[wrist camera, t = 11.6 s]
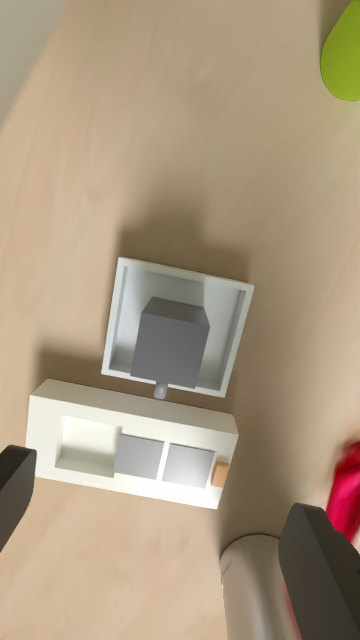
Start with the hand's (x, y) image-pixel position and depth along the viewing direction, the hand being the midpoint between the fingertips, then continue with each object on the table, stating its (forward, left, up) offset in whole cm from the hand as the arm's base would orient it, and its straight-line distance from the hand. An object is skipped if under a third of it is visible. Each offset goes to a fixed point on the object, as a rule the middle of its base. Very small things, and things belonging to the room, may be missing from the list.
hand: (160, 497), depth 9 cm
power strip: (+2, +13, -20) cm, 24 cm away
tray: (0, 0, -20) cm, 20 cm away
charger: (0, 0, -19) cm, 19 cm away
